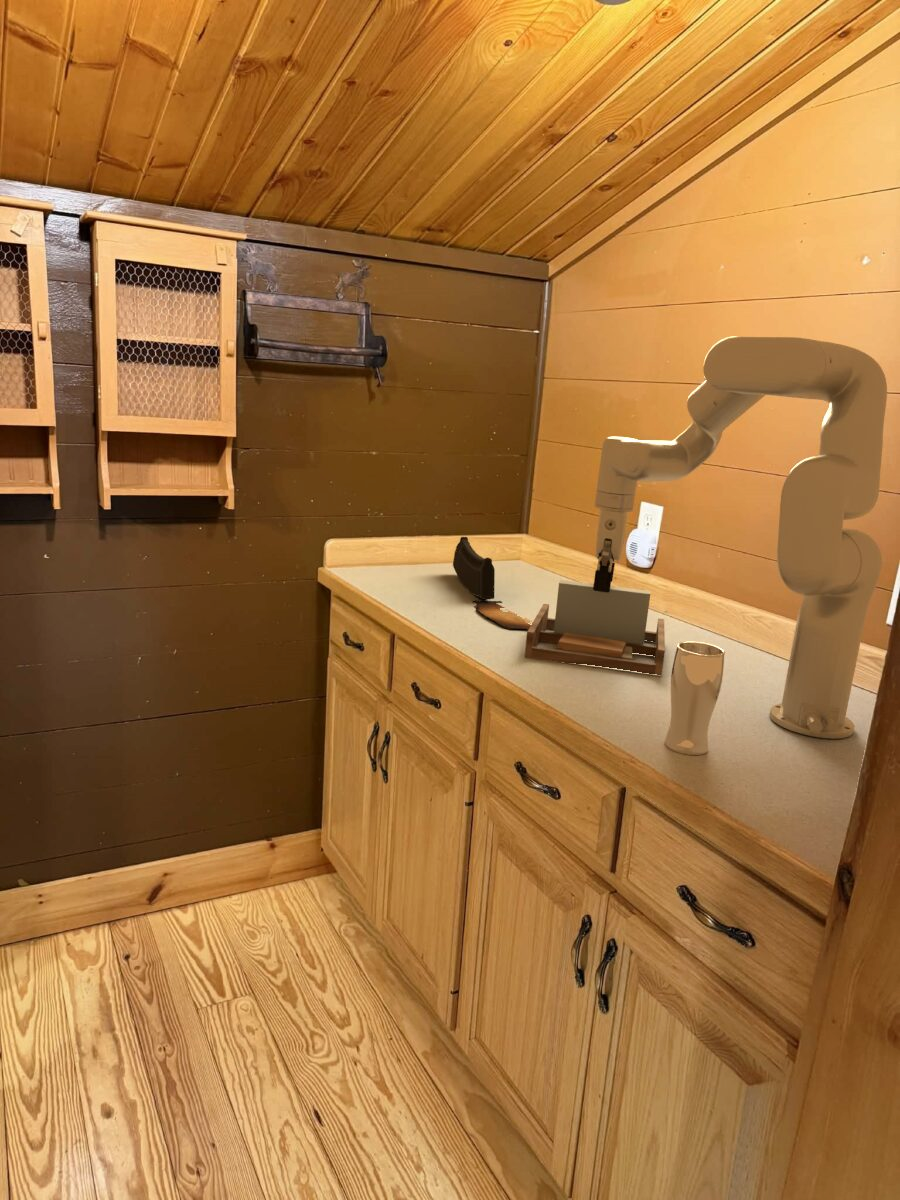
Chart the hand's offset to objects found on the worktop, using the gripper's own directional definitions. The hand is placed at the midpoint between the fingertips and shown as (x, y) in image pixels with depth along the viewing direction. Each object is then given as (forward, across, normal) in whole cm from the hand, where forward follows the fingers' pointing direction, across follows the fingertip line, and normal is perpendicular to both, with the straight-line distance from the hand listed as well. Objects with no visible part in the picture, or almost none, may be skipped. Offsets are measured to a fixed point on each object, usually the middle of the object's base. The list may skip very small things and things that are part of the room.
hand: (602, 585), depth 168 cm
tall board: (+12, 0, -1) cm, 12 cm away
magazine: (+13, +34, +33) cm, 50 cm away
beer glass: (+11, -48, -17) cm, 52 cm away
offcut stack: (+12, -10, -1) cm, 16 cm away
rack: (+12, -4, -1) cm, 13 cm away
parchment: (+13, +12, +21) cm, 28 cm away
